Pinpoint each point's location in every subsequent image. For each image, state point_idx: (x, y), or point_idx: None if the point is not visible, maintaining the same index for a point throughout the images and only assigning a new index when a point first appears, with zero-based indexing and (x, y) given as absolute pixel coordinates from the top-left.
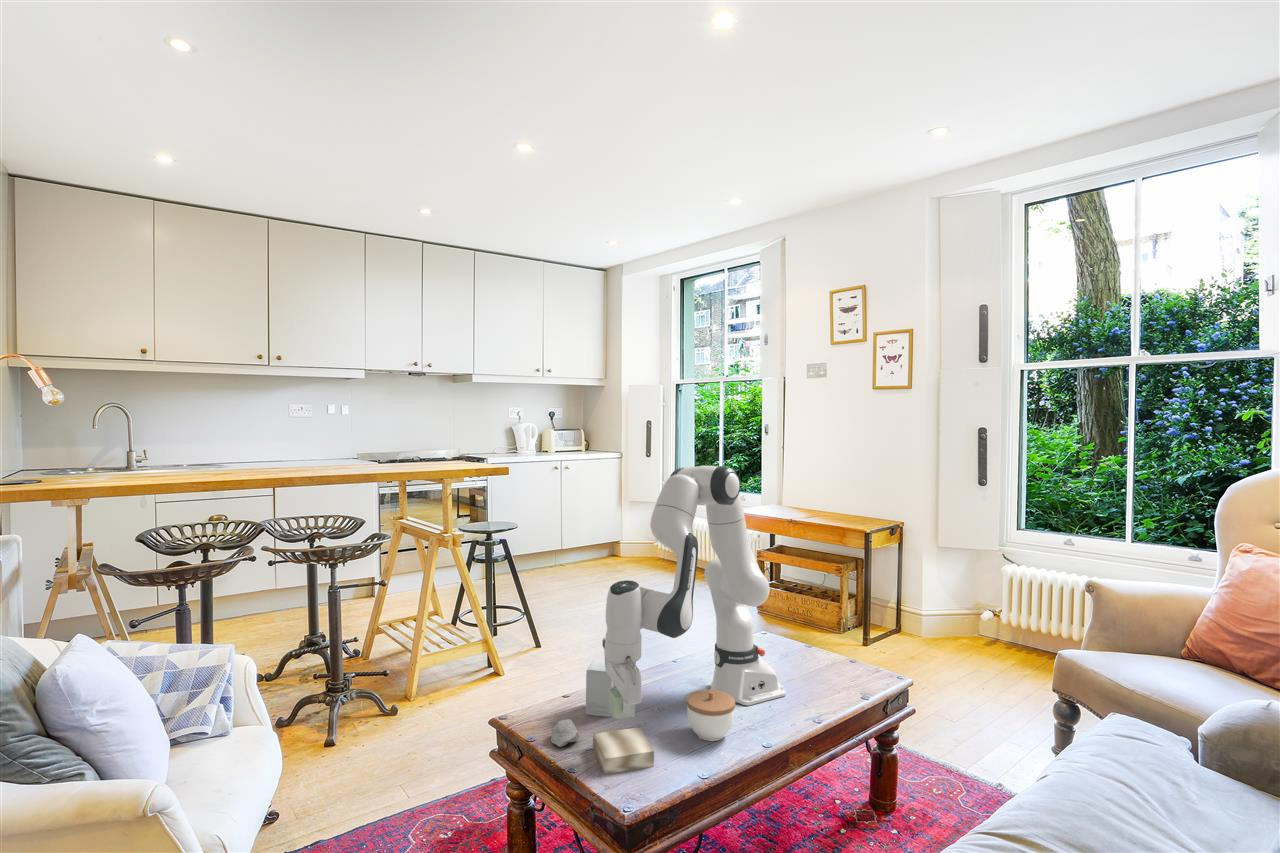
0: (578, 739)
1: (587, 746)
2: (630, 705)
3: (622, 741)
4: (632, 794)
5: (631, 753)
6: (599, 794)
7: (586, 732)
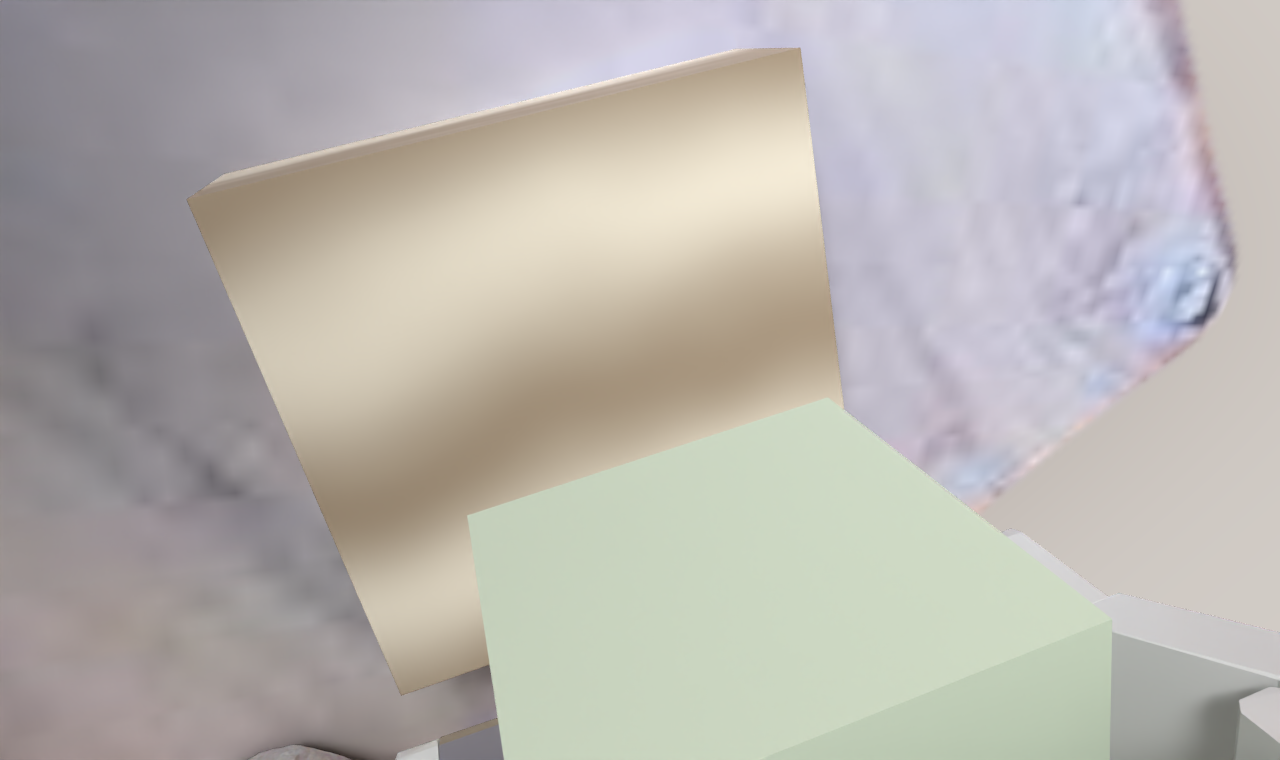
0: (303, 749)
1: (376, 650)
2: (1133, 603)
3: (569, 401)
4: (1069, 262)
5: (810, 303)
6: (1014, 481)
7: (95, 704)
